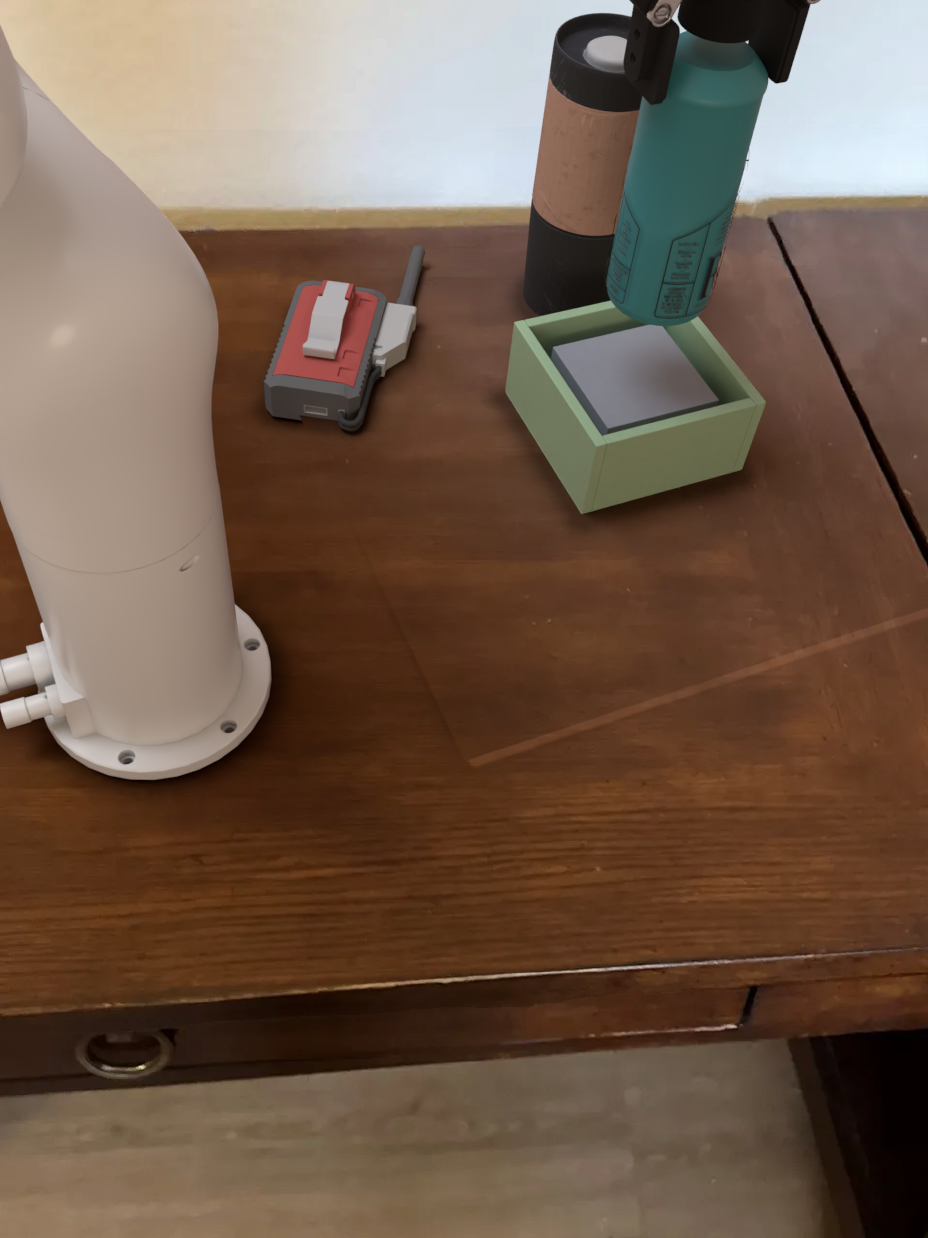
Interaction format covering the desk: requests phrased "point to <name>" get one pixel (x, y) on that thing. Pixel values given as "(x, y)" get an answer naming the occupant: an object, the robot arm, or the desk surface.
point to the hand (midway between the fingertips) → (706, 76)
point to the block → (632, 378)
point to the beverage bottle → (688, 166)
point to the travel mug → (580, 164)
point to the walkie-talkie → (339, 348)
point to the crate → (637, 454)
